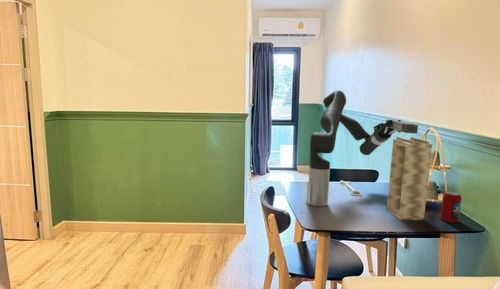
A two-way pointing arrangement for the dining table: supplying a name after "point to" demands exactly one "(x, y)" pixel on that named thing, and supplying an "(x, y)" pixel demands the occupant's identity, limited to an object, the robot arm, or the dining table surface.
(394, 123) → the gray block
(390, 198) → the beige patterned box
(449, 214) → the beverage can
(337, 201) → the dining table surface
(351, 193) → the wrench
